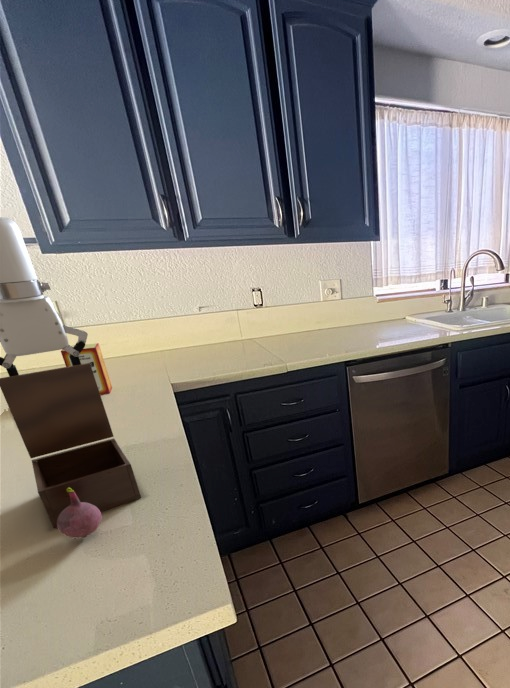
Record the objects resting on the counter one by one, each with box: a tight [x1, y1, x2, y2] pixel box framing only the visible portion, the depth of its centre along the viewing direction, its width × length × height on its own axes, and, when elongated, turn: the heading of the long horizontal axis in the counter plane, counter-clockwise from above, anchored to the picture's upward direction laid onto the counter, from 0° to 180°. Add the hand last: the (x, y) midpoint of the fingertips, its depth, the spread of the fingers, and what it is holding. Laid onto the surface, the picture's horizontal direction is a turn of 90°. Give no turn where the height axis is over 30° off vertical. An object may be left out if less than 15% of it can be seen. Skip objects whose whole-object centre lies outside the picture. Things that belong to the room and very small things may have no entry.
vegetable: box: [56, 488, 102, 539], centre depth 73 cm, size 6×6×10 cm
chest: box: [31, 437, 142, 529], centre depth 85 cm, size 16×15×8 cm
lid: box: [0, 363, 115, 459], centre depth 87 cm, size 16×15×5 cm
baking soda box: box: [60, 342, 113, 396], centre depth 141 cm, size 10×6×16 cm
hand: (50, 380), depth 86 cm, fingers open, 9 cm apart
